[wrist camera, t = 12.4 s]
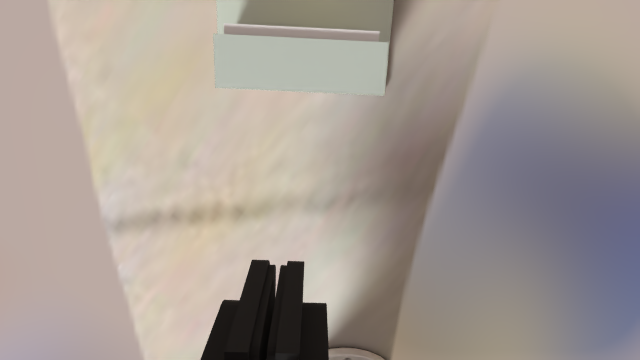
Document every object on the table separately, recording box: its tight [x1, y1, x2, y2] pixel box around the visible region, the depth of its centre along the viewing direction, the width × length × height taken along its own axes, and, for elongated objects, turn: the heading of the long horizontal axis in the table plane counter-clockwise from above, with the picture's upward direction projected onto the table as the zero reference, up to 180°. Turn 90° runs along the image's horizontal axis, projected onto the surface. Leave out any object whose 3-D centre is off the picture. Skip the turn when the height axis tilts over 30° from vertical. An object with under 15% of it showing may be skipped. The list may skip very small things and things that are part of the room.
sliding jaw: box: [213, 23, 389, 96], centre depth 24 cm, size 4×10×5 cm, turn 87°
